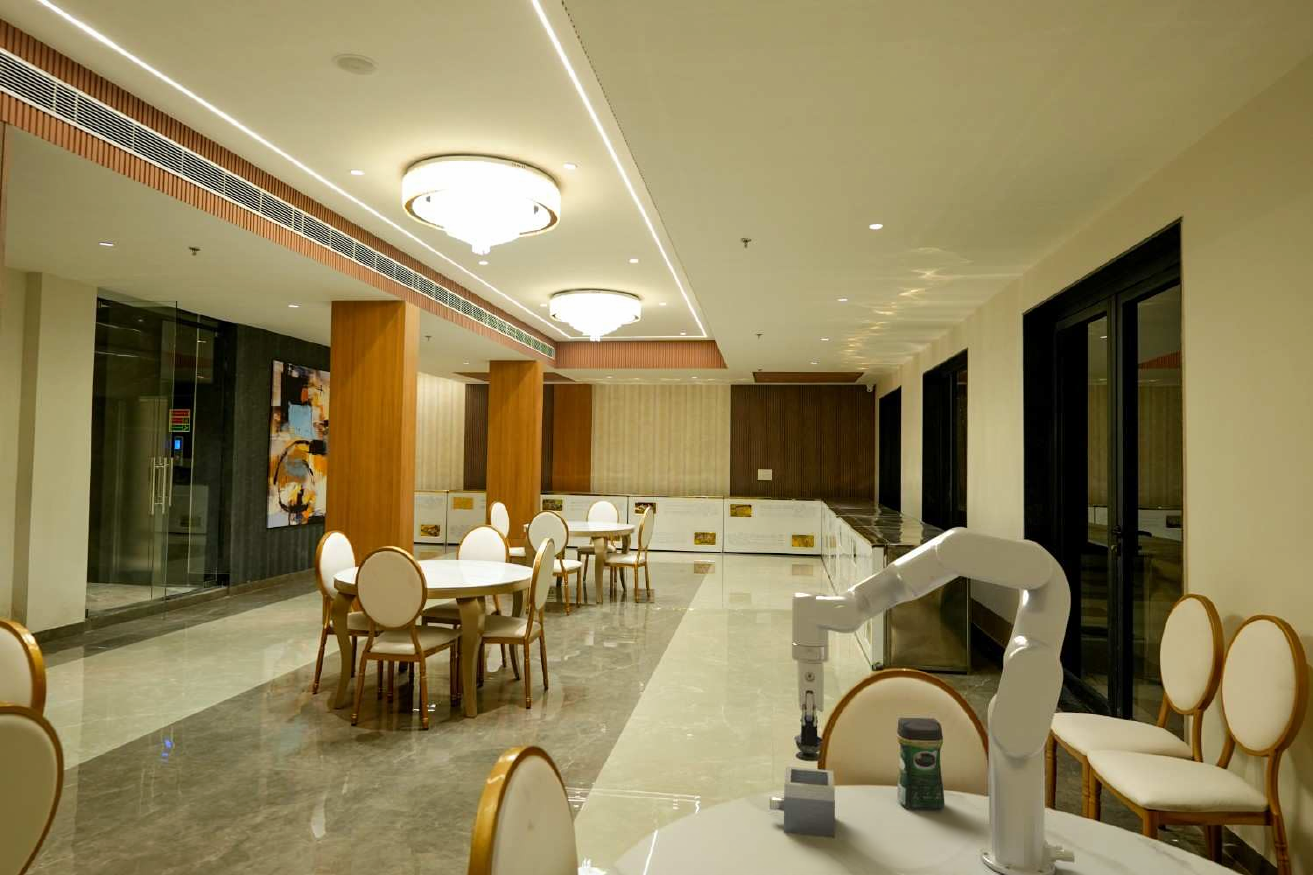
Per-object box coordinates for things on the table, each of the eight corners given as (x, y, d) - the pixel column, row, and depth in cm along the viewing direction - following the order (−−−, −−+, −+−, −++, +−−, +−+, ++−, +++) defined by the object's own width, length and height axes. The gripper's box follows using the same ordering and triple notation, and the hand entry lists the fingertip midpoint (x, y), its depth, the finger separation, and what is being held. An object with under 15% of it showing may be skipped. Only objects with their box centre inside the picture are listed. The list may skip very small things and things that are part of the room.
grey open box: (833, 812, 165) (833, 767, 165) (834, 837, 153) (835, 788, 154) (771, 806, 167) (771, 761, 168) (768, 830, 156) (769, 782, 156)
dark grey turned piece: (789, 753, 162) (789, 694, 162) (814, 750, 164) (814, 693, 164) (802, 763, 156) (803, 702, 157) (828, 760, 158) (829, 700, 159)
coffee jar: (936, 797, 174) (936, 713, 175) (948, 812, 166) (948, 724, 167) (893, 796, 174) (892, 712, 175) (903, 811, 166) (902, 723, 167)
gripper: (829, 662, 152) (828, 756, 151) (827, 644, 169) (826, 728, 168) (790, 659, 153) (789, 752, 152) (792, 642, 170) (791, 726, 169)
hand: (809, 739), depth 160 cm, fingers closed on dark grey turned piece, 5 cm apart
